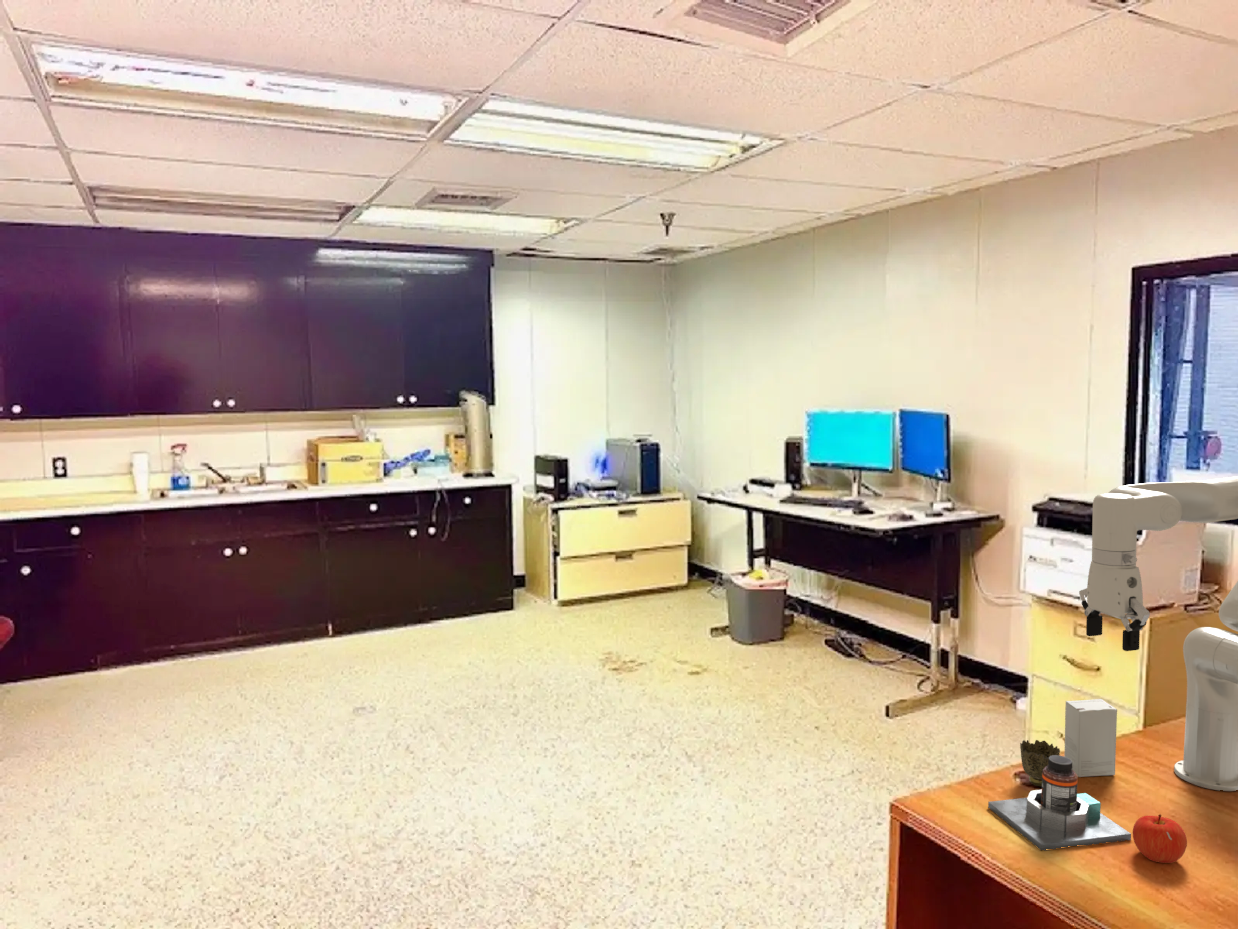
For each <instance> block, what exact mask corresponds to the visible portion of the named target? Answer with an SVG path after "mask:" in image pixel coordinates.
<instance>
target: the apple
mask: <svg viewBox="0 0 1238 929" xmlns="http://www.w3.org/2000/svg"><path fill="white" fill-rule="evenodd" d="M1132 838H1133V842H1134V844H1135V846H1136V848H1137V849H1138V851H1139V853H1141V854H1142V855H1143V856H1144V857H1146V858H1147V859H1149V860H1150V861H1152V862H1156V863H1162V864H1163V863H1164V864H1173V863H1175V862H1177V861H1178V860H1181V858H1182V857H1183V856H1184V854H1185V852H1186V850H1187V847H1188V840H1187V834H1186V832H1185V831H1184V829H1183V827H1182V826H1181V825H1180V824H1179V823H1178V822H1177V821H1175V820H1174V819H1170V818H1167V817H1165V816H1162V814H1161V813H1159V814H1158V815H1143V816H1141V817H1139V818H1138V819H1137V820H1136V821H1135V823H1134V824H1133V827H1132Z"/></svg>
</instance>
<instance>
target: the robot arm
mask: <svg viewBox="0 0 1238 929" xmlns="http://www.w3.org/2000/svg"><path fill="white" fill-rule="evenodd" d="M1237 519H1238V476H1237V475H1236V476H1230V477H1229V476H1228V477H1222V478H1213V479H1206V480H1203V479H1202V480H1186V481H1185V480H1183V481H1172V482H1169V481H1168V482H1144V483H1135V484H1126V485H1120V486H1117V487H1114V488H1113V489H1111V490H1109V491H1108V493H1107V492H1106V493H1100V494H1097V495H1096V496H1095V497H1094V498H1093V502H1092V525H1091V526H1092V530H1091V531H1092V532H1091V534H1092V535H1091V539H1092V540H1091V561H1090V564H1089V568H1088V569H1089V570H1088V576H1087V584H1086V585H1087V587H1086V588H1083V589H1081V590H1079V592H1078V593H1079V597H1080V600H1081V605H1082V607H1083V609H1084V611H1083V613H1084V615H1085V616H1086V622H1085V623H1086V626H1085V628H1086V629H1085V630H1086V632H1085V633H1086V634H1085V635H1086V636H1087V637H1097V636H1098V637H1099V636H1102V635H1103V615H1101V613H1102V614H1104V615H1107V616H1109V617H1113V618H1116V619H1119V620H1120V621H1121V623H1122V624H1123V625H1122V626H1124V628H1125V629H1123V630H1122V646H1121V647H1122V651H1124V652H1131V651H1138V650H1139V649H1140V635H1141V634H1140V632H1141V631H1142V630H1143V628H1144V627H1145V626H1146V625H1147V621H1148V619H1149V617H1150V615H1151V614H1150V611H1149V610H1148V609H1147V608H1146V607H1145V606H1144V600H1143V599H1144V598H1143V597H1144V596H1143V584H1142V577H1141V572H1140V568H1139V566H1137V562H1138V558H1137V541H1138V540H1137V538H1138V537H1137V536H1138V531H1153V532H1154V531H1155V532H1156V531H1157V532H1160V531H1166V530H1169V529H1171V528H1174V527H1175V526H1176V525H1177V524H1178V523H1179V522H1186V523H1187V522H1188V523H1201V524H1205V523H1206V524H1207V523H1208V524H1209V523H1217V522H1223V521H1224V522H1225V521H1230V520H1231V521H1232V520H1237ZM1218 618H1219V620H1220V622H1221V623H1222V624H1223V625H1224V626H1226V627H1227V628H1229V629H1231V630H1233V631H1235V632H1237V633H1235V632H1232V631H1228V630H1225V629H1221V628H1218V627H1211V626H1201V627H1197V628H1195V629H1193V630H1191V631H1190V632H1189V633H1188V634H1187V636H1186V637H1185V638H1184V641H1183V646H1182V653H1183V660H1184V664H1185V672H1186V704H1185V721H1184V723H1185V725H1184V744H1183V760H1179V761H1177V762H1176V763H1174V766H1173V767H1174V769H1173V770H1174V773H1175V774H1176V776H1177V777H1179V778H1180V779H1182V780H1184V781H1186V782H1187V783H1189V784H1192V785H1194V786H1198V787H1200V788H1204V789H1209V790H1215V791H1220V790H1223V792H1237V791H1236V790H1238V580H1237V581H1236V583H1235V584H1234V585H1233V587H1232V588H1231V590H1230V591H1229V593H1228V594H1227V595H1226V597H1224V599H1223V601H1222V603H1221V604H1220V606H1219V609H1218ZM1130 620H1131V623H1130Z"/></svg>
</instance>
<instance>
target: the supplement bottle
mask: <svg viewBox="0 0 1238 929" xmlns="http://www.w3.org/2000/svg"><path fill="white" fill-rule="evenodd" d="M1048 764H1049V765H1048V766H1046V767H1045V768H1044V769H1043V771H1042V786H1041V790H1042V797H1041V805H1042V806H1043V807H1044V808H1047V809H1051V810H1055V811H1059V812H1073V811H1076V809H1077V794H1078V779H1079V777H1078V776H1077V774H1076V773H1075V772H1074V771H1073V770H1072V768H1073V767H1072V760H1071V759H1069V758H1067V757H1064V755H1052V756H1050V757H1049V760H1048Z"/></svg>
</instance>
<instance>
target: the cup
mask: <svg viewBox="0 0 1238 929" xmlns="http://www.w3.org/2000/svg"><path fill="white" fill-rule="evenodd" d="M1019 744H1020V745H1019V746H1020V747H1019V748H1020V758H1021V765H1022V768H1023V771H1024V772H1025V774H1027V775H1028V776H1029V777H1028V780H1029V782H1030V783H1031V784H1032V785H1034V786H1036V787H1042V771H1043V769H1044V768H1045V767H1046V766H1048V765H1049V764H1048V760H1049V757H1050V756H1052V755H1059V756H1061V755H1060V754H1061V750H1060V748H1059V747H1058V746H1057V745H1056V746H1055V747H1054V745H1053V743H1051V744H1049V743H1048V742H1047V741H1046V740H1042V741H1040V740H1038V739H1035V742H1033V743H1031V742H1030V740H1025V739H1023V740H1022V741H1021V742H1020V743H1019Z"/></svg>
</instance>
